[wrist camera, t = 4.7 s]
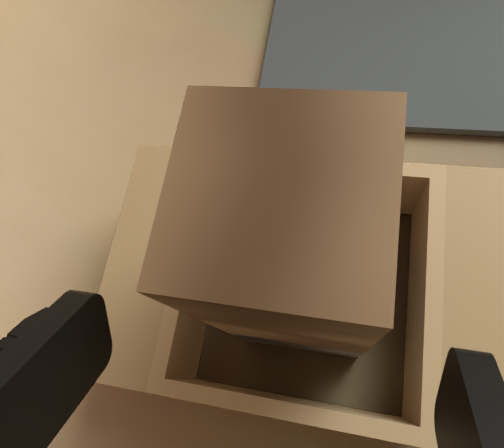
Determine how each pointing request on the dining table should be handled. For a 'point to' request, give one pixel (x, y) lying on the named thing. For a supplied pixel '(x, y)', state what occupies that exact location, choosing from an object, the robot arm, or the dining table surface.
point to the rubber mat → (397, 56)
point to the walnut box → (282, 216)
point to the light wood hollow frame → (418, 306)
